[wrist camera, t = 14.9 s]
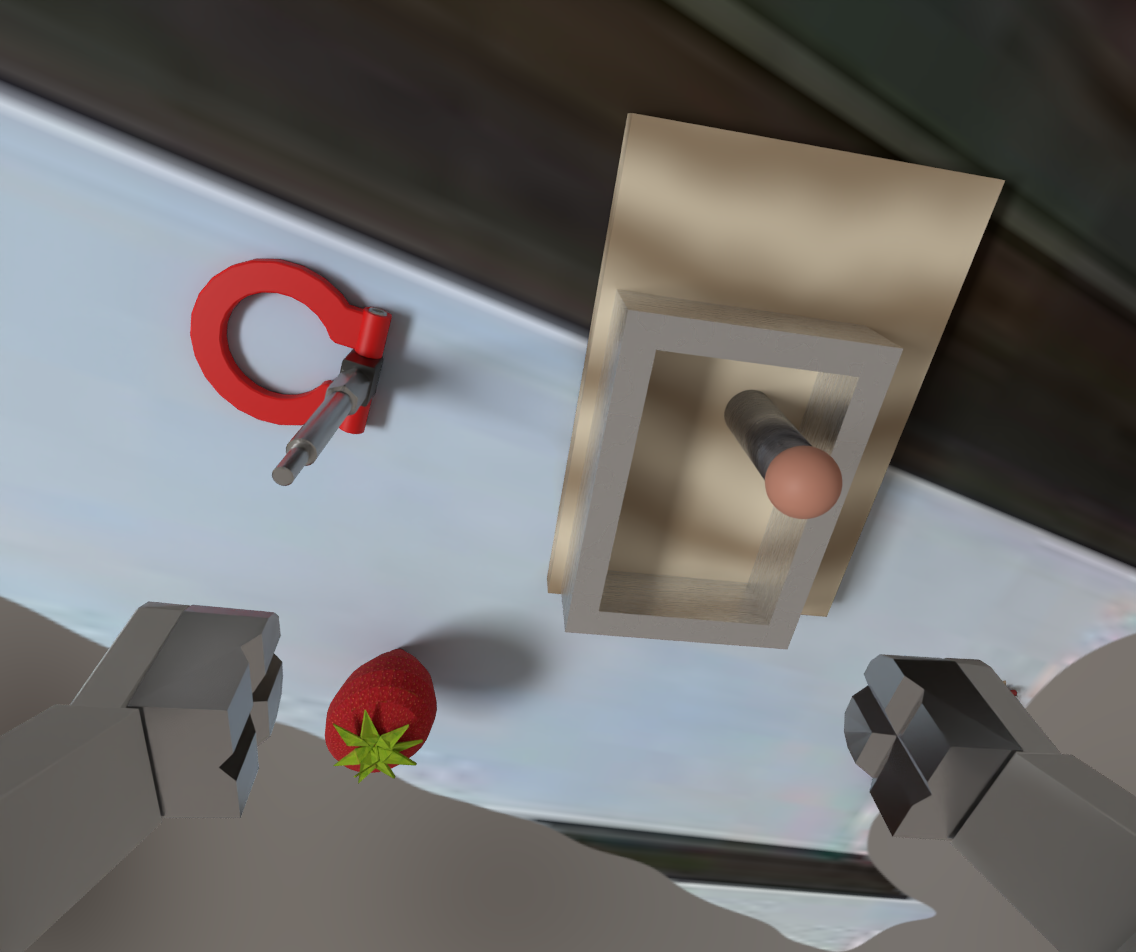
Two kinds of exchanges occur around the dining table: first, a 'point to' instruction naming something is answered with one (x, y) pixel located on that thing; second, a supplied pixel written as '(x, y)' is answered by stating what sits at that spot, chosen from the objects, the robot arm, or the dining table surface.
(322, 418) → the tow hook
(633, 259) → the board
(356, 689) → the strawberry
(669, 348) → the steel link
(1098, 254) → the dining table surface
